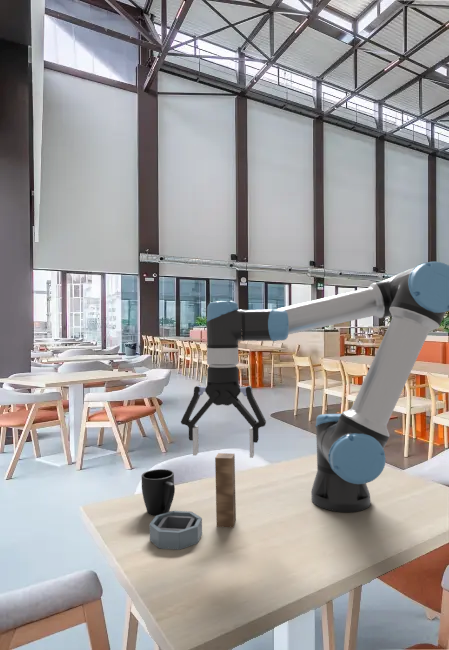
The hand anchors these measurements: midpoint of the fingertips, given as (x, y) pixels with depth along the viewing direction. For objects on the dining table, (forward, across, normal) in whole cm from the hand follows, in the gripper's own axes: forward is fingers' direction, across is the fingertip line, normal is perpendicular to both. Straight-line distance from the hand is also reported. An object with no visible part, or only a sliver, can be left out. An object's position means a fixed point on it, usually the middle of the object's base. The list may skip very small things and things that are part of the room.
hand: (223, 455), depth 101 cm
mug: (+16, +17, -4) cm, 24 cm away
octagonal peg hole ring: (+16, +10, +8) cm, 20 cm away
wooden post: (+16, 0, 0) cm, 16 cm away
